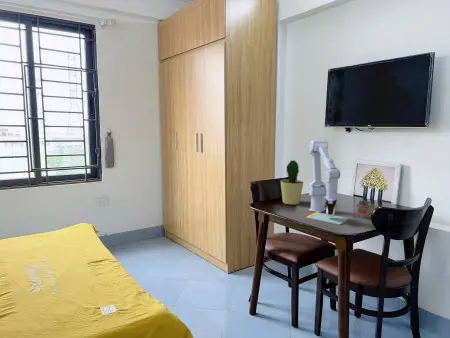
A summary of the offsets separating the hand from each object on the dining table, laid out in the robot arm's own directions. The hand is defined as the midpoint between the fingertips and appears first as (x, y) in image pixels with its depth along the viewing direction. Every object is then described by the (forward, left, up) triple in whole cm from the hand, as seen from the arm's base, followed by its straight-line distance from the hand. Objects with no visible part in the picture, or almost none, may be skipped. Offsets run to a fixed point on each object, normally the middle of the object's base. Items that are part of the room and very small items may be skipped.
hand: (330, 213), depth 186 cm
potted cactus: (-21, -36, -4) cm, 42 cm away
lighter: (-17, +13, -4) cm, 22 cm away
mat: (0, -1, -4) cm, 4 cm away
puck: (0, 0, -1) cm, 1 cm away
